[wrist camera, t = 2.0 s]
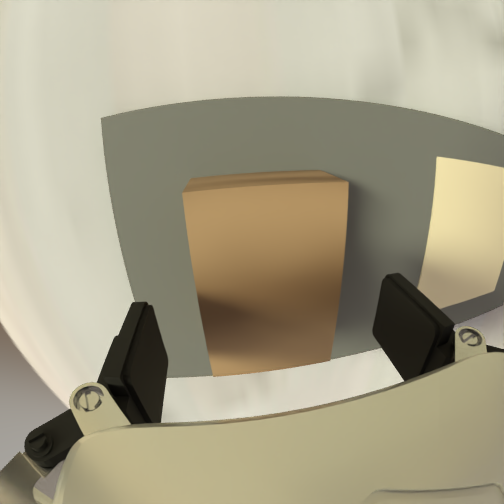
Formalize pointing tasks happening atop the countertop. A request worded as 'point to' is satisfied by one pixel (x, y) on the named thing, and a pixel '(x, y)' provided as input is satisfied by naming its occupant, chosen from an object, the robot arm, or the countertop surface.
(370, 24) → the countertop surface
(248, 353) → the walnut tile
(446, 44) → the countertop surface
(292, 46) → the countertop surface
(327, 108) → the mat
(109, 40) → the countertop surface
